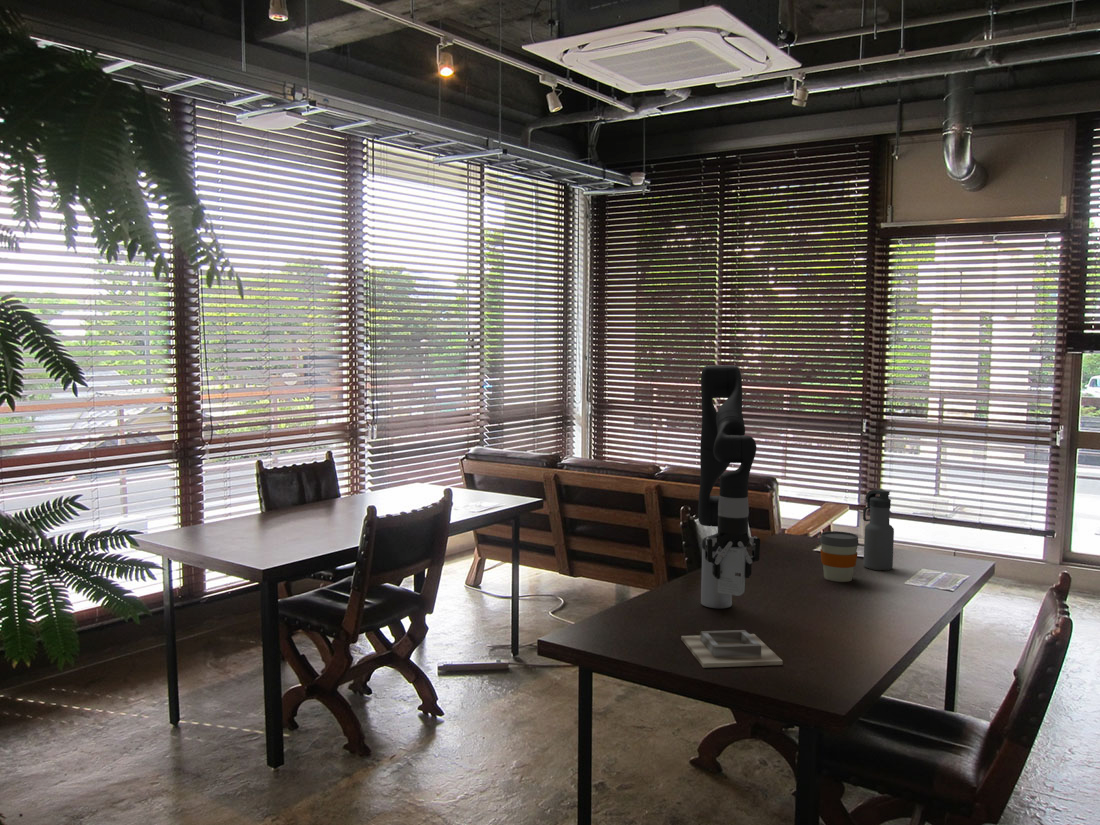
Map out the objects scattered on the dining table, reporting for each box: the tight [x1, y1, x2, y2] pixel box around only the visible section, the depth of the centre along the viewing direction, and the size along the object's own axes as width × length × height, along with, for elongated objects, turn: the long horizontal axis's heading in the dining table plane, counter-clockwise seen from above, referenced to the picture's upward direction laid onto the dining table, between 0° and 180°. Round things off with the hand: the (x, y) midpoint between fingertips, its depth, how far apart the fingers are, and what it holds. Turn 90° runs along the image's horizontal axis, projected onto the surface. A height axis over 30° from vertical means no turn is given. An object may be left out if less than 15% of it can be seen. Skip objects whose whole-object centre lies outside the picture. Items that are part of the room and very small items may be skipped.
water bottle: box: [862, 489, 895, 571], centre depth 300 cm, size 10×10×28 cm
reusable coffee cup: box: [819, 530, 860, 583], centre depth 286 cm, size 13×13×15 cm
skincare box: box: [718, 546, 748, 597], centre depth 213 cm, size 6×4×12 cm
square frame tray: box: [681, 629, 784, 669], centre depth 214 cm, size 20×20×4 cm
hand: (731, 577), depth 213 cm, fingers closed on skincare box, 7 cm apart
